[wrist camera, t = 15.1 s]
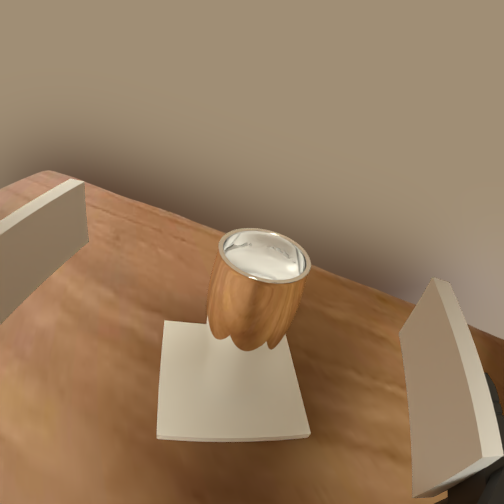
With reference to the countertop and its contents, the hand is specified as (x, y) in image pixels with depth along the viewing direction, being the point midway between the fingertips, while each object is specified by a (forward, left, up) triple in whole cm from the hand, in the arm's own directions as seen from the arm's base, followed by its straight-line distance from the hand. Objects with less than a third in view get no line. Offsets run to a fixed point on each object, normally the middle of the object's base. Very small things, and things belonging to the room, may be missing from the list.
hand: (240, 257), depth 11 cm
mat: (-4, -9, -22) cm, 24 cm away
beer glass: (-4, -9, -21) cm, 23 cm away
